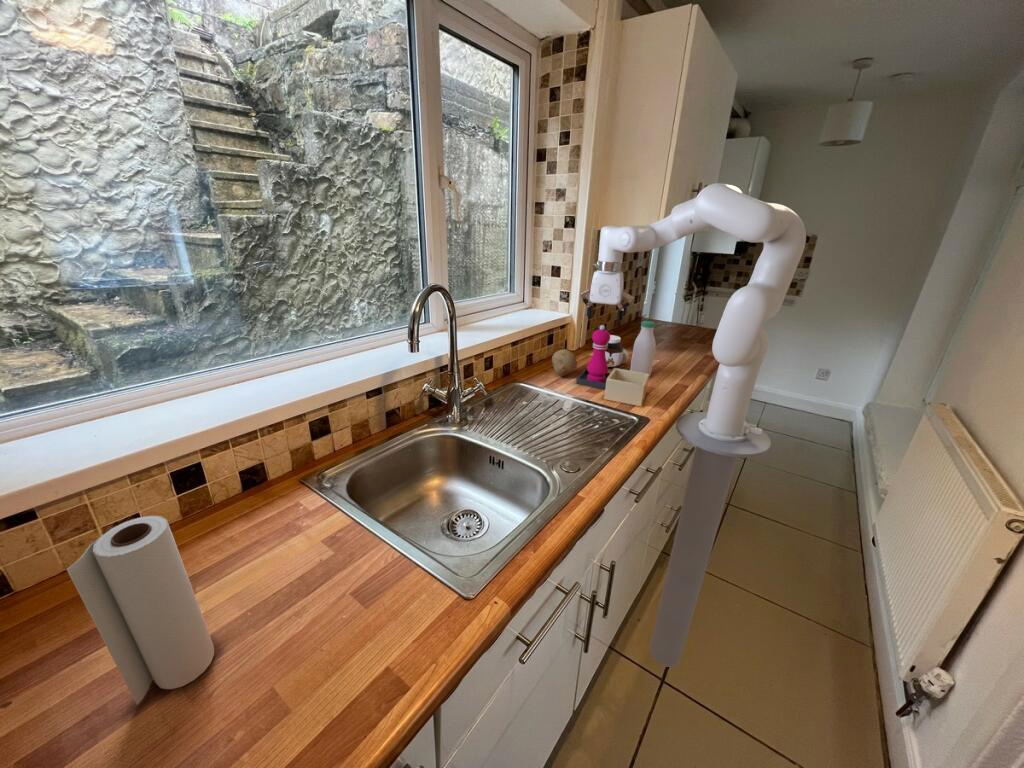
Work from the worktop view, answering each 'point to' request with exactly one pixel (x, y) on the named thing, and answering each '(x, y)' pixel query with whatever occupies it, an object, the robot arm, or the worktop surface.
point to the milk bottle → (644, 349)
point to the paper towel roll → (144, 605)
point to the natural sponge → (564, 362)
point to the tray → (584, 381)
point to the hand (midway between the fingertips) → (604, 320)
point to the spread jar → (615, 352)
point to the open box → (626, 386)
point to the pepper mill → (599, 356)
